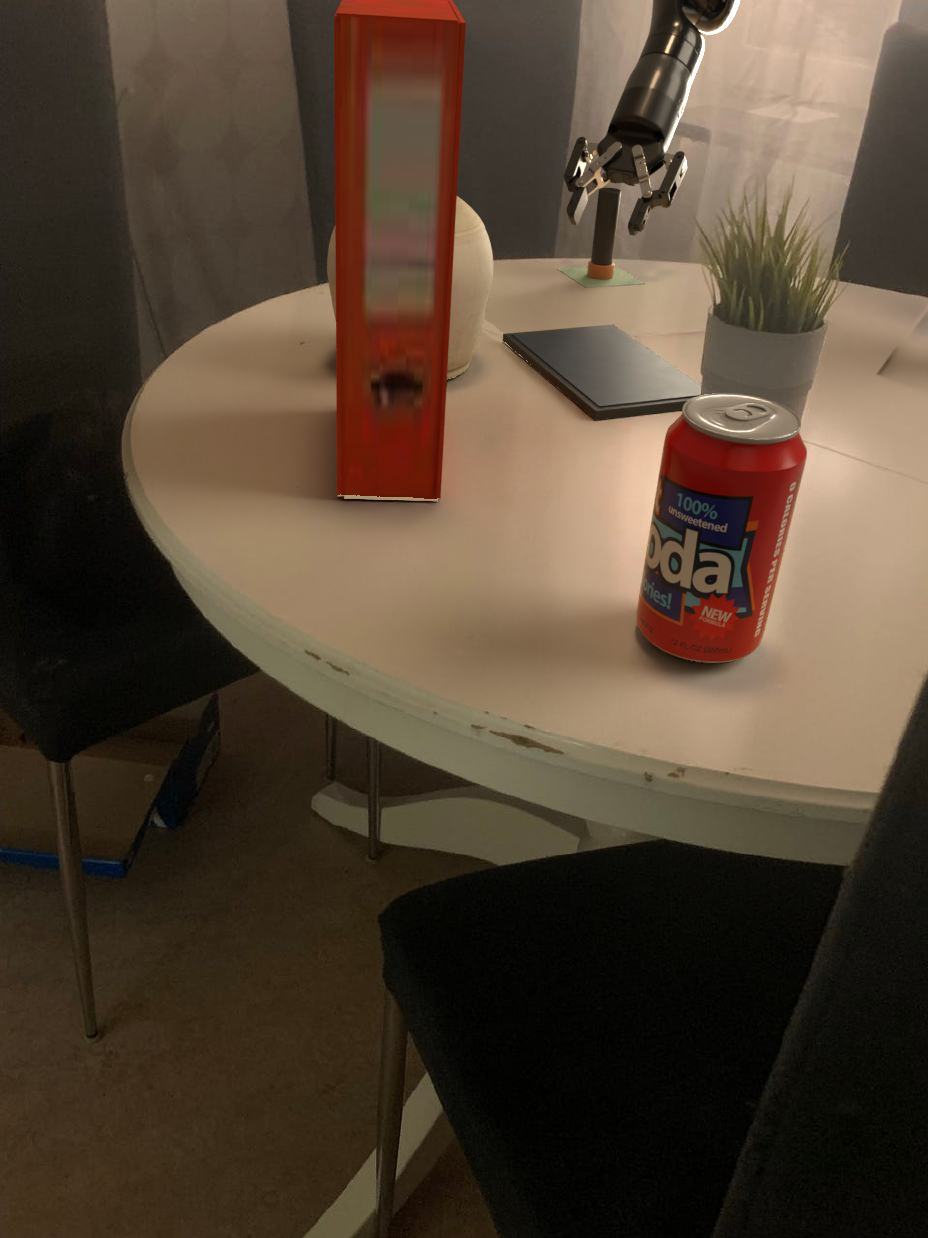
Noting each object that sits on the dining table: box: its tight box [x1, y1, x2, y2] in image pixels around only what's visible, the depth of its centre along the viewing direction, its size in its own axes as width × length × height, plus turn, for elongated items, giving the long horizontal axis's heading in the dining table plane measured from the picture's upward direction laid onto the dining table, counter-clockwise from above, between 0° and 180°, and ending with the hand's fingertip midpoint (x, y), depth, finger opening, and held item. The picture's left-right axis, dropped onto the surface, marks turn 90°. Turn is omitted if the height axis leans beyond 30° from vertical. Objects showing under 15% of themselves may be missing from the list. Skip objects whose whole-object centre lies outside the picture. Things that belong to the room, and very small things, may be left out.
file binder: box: [333, 0, 467, 499], centre depth 79 cm, size 8×17×32 cm, turn 3°
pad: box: [557, 265, 646, 289], centre depth 132 cm, size 8×8×1 cm
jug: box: [326, 195, 494, 379], centre depth 99 cm, size 15×16×25 cm
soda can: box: [636, 392, 808, 664], centre depth 64 cm, size 8×8×15 cm
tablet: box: [502, 324, 702, 421], centre depth 106 cm, size 13×21×1 cm, turn 21°
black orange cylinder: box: [587, 187, 622, 280], centre depth 129 cm, size 3×3×10 cm
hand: (601, 225), depth 127 cm, fingers open, 7 cm apart
